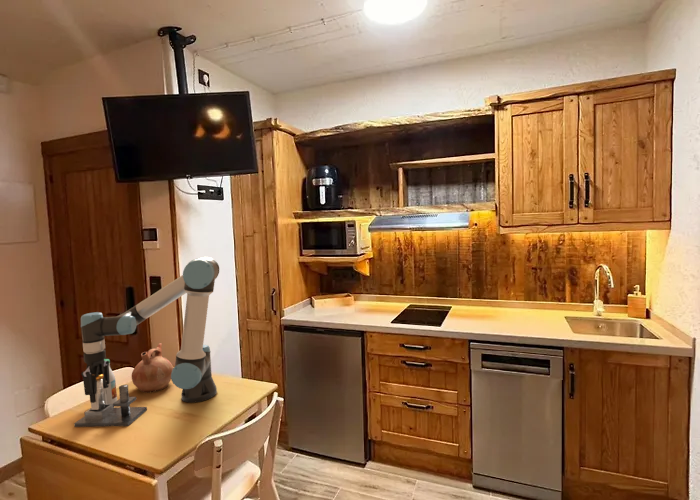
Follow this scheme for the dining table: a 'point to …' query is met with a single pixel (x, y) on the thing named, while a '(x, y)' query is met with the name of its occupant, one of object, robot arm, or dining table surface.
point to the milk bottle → (111, 387)
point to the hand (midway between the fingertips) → (99, 406)
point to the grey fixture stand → (113, 412)
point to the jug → (152, 371)
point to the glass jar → (100, 392)
